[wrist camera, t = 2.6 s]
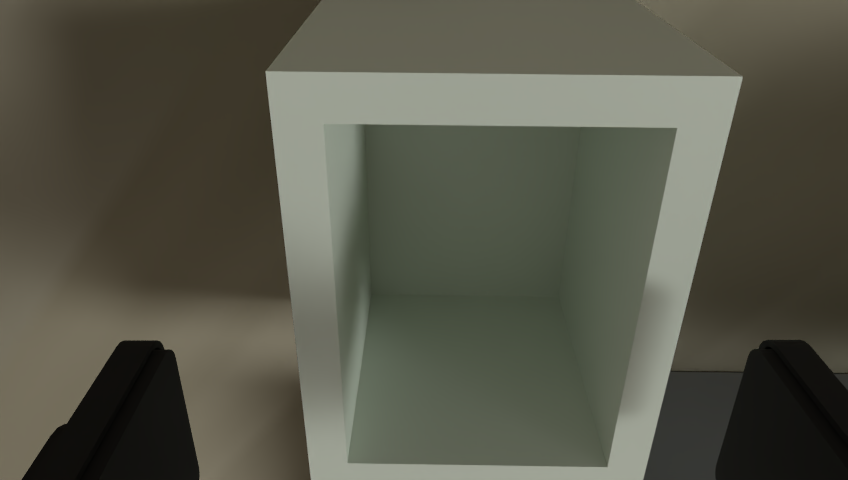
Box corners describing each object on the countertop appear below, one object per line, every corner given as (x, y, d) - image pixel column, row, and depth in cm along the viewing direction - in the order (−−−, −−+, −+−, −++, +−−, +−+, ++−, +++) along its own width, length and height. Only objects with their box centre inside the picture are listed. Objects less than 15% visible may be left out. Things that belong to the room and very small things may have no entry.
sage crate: (329, -11, 16) (265, 71, 10) (624, -8, 16) (742, 76, 10) (347, 300, 20) (311, 488, 14) (578, 304, 20) (639, 493, 14)
